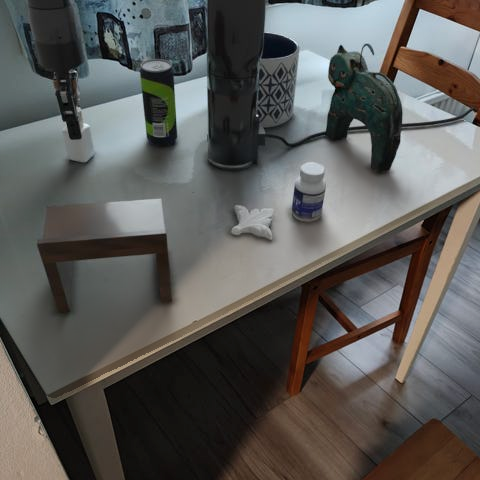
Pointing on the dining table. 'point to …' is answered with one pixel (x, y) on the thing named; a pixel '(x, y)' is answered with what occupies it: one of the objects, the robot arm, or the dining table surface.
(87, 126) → the salt shaker
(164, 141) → the beverage can
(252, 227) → the acanthus leaf ornament
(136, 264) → the dining table surface
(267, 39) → the planter
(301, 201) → the pill bottle
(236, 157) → the robot arm
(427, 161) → the dining table surface
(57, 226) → the wooden table
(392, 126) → the ceramic cat
